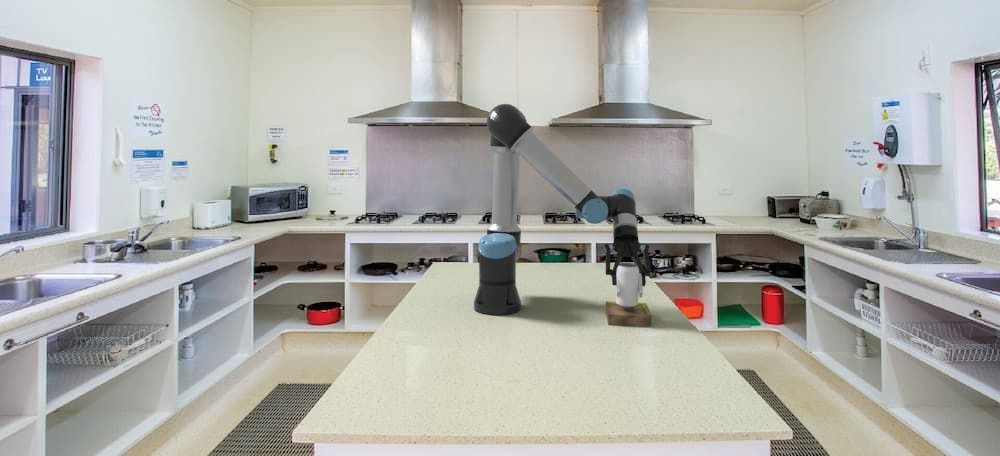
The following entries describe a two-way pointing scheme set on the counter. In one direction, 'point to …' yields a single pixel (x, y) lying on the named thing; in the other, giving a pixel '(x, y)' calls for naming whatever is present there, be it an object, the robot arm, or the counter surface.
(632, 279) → the can
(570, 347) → the counter surface
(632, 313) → the dock
